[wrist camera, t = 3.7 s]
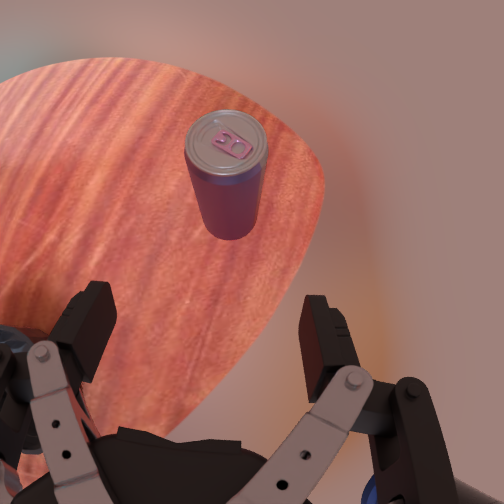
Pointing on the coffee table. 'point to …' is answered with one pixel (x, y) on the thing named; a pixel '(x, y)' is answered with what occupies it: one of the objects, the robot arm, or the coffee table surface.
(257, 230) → the coffee table surface
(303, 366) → the robot arm
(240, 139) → the beverage can
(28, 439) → the dark round dish
